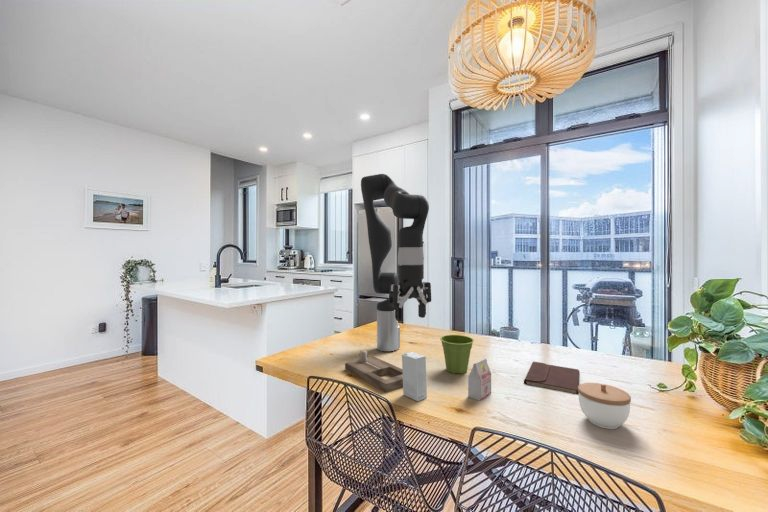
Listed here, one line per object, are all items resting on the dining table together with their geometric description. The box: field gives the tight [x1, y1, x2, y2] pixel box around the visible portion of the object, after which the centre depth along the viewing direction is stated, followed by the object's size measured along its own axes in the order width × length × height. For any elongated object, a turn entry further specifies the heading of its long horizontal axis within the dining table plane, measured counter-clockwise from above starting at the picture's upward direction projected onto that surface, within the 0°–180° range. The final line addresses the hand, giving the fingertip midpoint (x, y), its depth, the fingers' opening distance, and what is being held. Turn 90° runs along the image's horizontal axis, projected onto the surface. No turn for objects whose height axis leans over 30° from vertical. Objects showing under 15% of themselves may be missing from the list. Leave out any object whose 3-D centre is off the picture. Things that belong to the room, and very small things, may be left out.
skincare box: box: [401, 351, 428, 402], centre depth 94 cm, size 6×4×12 cm
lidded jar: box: [578, 382, 632, 430], centre depth 79 cm, size 11×11×9 cm
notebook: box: [523, 361, 580, 395], centre depth 108 cm, size 15×20×2 cm
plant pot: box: [439, 334, 475, 374], centre depth 115 cm, size 12×12×11 cm
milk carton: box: [467, 358, 492, 401], centre depth 95 cm, size 4×7×10 cm, turn 135°
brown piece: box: [344, 350, 403, 393], centre depth 110 cm, size 12×24×6 cm, turn 37°
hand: (410, 319), depth 94 cm, fingers open, 8 cm apart
